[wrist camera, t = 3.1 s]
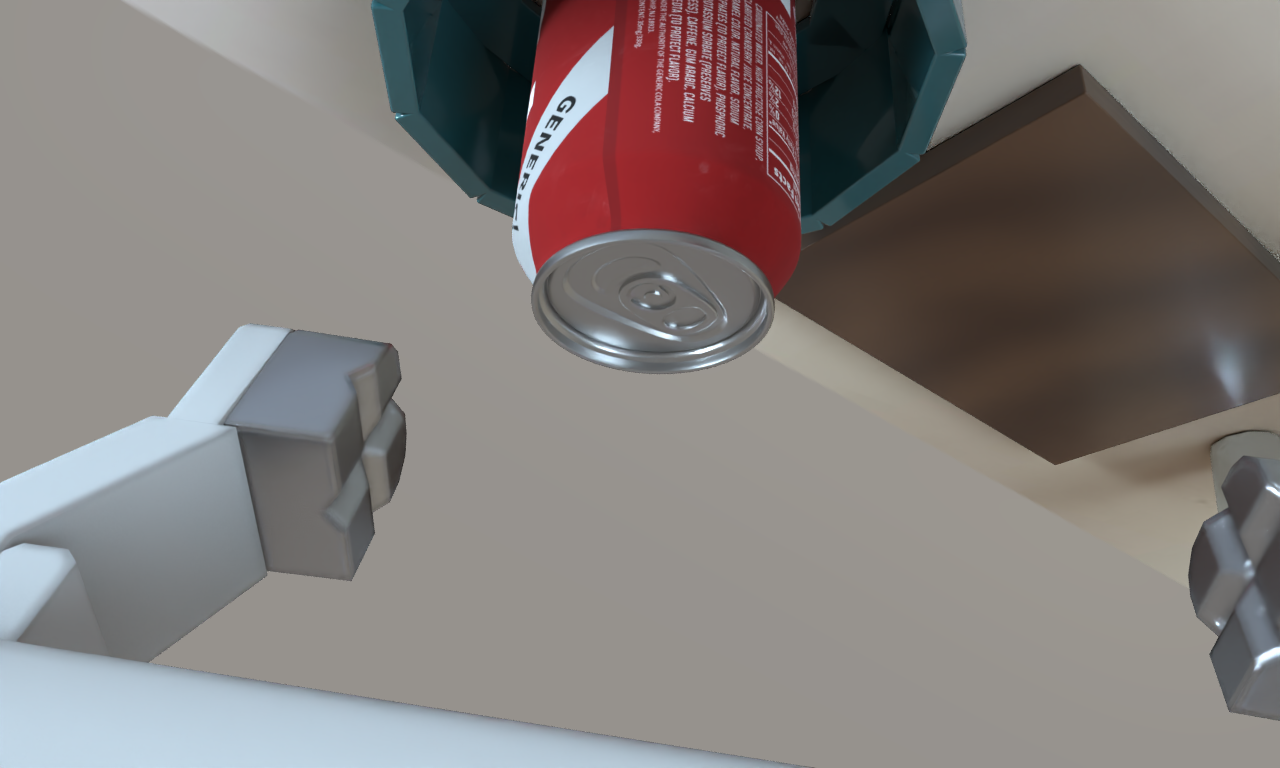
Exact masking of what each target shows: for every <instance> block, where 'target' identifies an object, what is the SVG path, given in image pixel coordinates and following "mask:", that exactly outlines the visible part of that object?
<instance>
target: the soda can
mask: <svg viewBox="0 0 1280 768" xmlns="http://www.w3.org/2000/svg"><path fill="white" fill-rule="evenodd" d="M512 240H513V245H514V250H515V253H516V256H517V259H518V261H519V263H520V265H521V267H522V269H523V270H524V272H525V274H526V275H527V277H528V278H529V280H530V281H531V283H532V284H533V289H532V295H531V303H532V310H533V314H534V317H535V319H536V321H537V323H538V325H539V326H540V327H541V329H542V330H543V331H544V332H545V334H546V335H547V336H548V337H549V338H551V339H552V340H553V341H554V342H555V343H556V344H558V345H559V346H560V347H562V348H564V349H565V350H567V351H568V352H570V353H572V354H574V355H576V356H578V357H580V358H582V359H585V360H587V361H590V362H593V363H595V364H598V365H602V366H605V367H609V368H613V369H617V370H622V371H628V372H635V373H647V374H675V373H685V372H693V371H699V370H703V369H708V368H712V367H715V366H718V365H721V364H724V363H726V362H729V361H731V360H734V359H736V358H738V357H740V356H742V355H743V354H745V353H747V352H748V351H750V350H751V349H752V348H754V347H755V346H756V345H757V344H758V343H759V342H760V341H761V340H762V339H763V338H764V337H765V335H766V334H767V333H768V331H769V329H770V327H771V324H772V322H773V318H774V310H775V304H774V298H775V297H776V296H777V294H778V293H779V292H780V291H781V290H782V288H783V287H784V286H785V284H786V283H787V282H788V280H789V279H790V277H791V276H792V274H793V272H794V270H795V268H796V265H797V263H798V260H799V256H800V251H801V207H800V168H799V129H798V90H797V51H796V13H795V0H543V4H542V12H541V19H540V26H539V34H538V41H537V49H536V56H535V63H534V71H533V78H532V85H531V93H530V100H529V107H528V115H527V122H526V130H525V137H524V144H523V152H522V159H521V166H520V174H519V181H518V188H517V196H516V203H515V211H514V218H513V226H512Z"/></svg>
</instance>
